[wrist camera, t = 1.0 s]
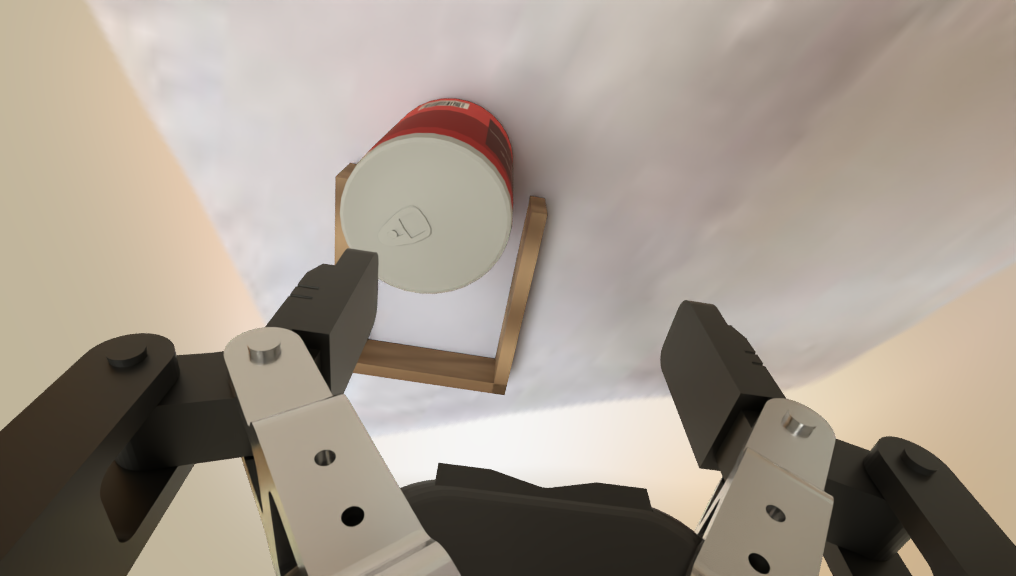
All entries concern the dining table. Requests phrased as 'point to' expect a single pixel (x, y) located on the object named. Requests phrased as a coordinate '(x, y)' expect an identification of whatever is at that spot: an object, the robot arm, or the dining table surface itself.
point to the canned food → (433, 198)
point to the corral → (450, 365)
